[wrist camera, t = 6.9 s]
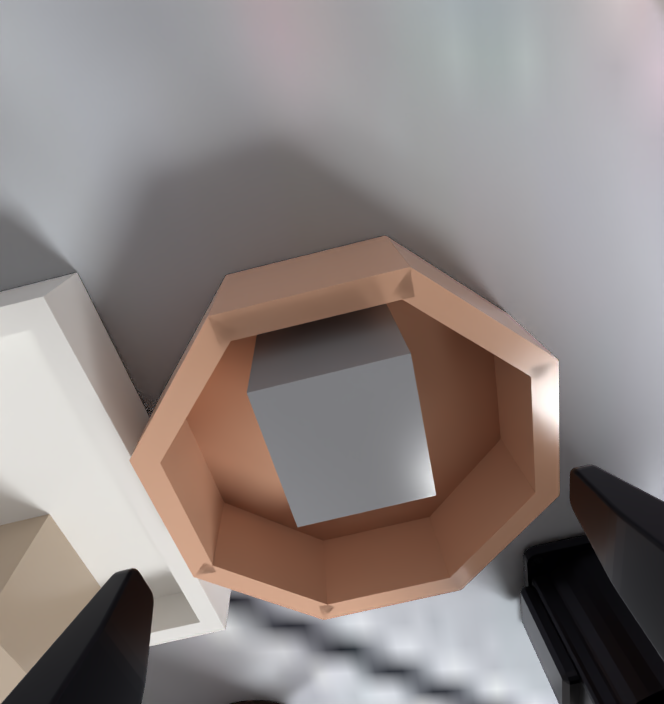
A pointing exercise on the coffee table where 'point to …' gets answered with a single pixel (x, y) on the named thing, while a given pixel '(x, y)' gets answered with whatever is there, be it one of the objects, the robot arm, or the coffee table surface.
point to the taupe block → (36, 593)
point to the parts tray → (87, 452)
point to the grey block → (341, 415)
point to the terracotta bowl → (438, 418)
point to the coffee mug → (255, 702)
